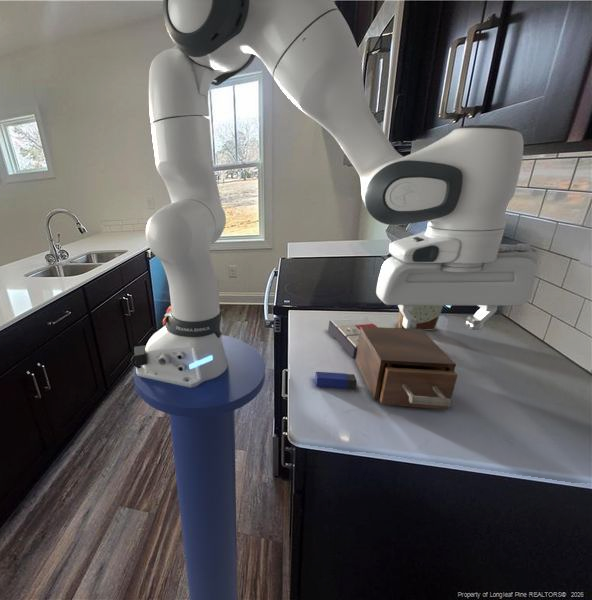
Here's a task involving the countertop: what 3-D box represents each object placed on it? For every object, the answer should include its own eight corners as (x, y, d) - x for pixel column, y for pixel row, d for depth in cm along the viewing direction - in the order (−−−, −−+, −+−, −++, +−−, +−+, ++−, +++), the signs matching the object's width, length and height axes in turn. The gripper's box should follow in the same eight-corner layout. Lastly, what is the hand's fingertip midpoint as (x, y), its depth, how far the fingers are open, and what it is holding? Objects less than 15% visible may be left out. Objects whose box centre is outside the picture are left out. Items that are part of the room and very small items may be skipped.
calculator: (355, 346, 77) (329, 318, 91) (352, 360, 79) (327, 331, 93) (399, 343, 78) (366, 315, 91) (396, 357, 79) (364, 328, 93)
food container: (425, 320, 96) (432, 289, 92) (440, 329, 90) (448, 296, 86) (384, 322, 96) (389, 291, 93) (395, 331, 91) (401, 299, 87)
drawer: (462, 428, 55) (474, 392, 52) (390, 422, 58) (397, 386, 55) (416, 369, 72) (423, 339, 69) (362, 366, 74) (366, 336, 72)
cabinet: (444, 406, 62) (456, 364, 58) (373, 400, 65) (381, 360, 61) (412, 364, 75) (421, 328, 72) (355, 361, 78) (360, 326, 74)
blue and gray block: (316, 386, 70) (317, 377, 69) (314, 380, 72) (315, 371, 71) (355, 389, 68) (357, 380, 67) (352, 383, 70) (354, 373, 69)
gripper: (525, 239, 48) (500, 320, 53) (379, 243, 53) (368, 319, 58) (561, 247, 43) (529, 338, 48) (393, 252, 47) (380, 335, 52)
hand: (440, 327), depth 53 cm, fingers open, 8 cm apart
